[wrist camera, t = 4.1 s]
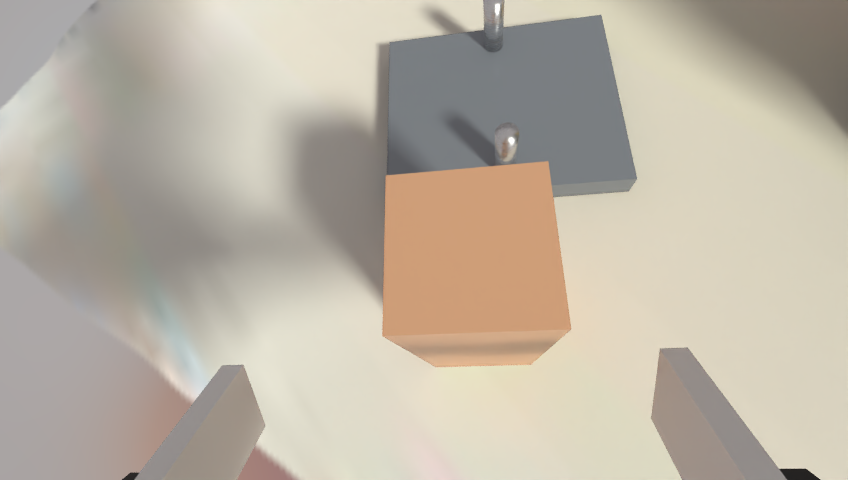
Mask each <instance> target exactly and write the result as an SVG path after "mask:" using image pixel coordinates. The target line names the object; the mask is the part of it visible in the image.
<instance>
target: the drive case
mask: <svg viewBox="0 0 848 480" xmlns="http://www.w3.org/2000/svg"><path fill="white" fill-rule="evenodd" d="M570 330H571V324H570V317H569V309H568V302H567V295H566V287H565V280H564V273H563V265H562V258H561V251H560V243H559V236H558V229H557V221H556V214H555V207H554V199H553V192H552V184H551V177H550V170H549V162H548V161H545V162H533V163H522V164H510V165H499V166H488V167H476V168H465V169H453V170H442V171H431V172H419V173H408V174H396V175H386V187H385V235H384V284H383V333H382V336H383V337H385V338H387V339H388V340H390V341H392V342H394V343H395V344H397V345H399V346H400V347H402V348H404V349H406V350H407V351H409V352H411V353H413V354H414V355H416V356H418V357H419V358H421V359H423V360H425V361H426V362H428V363H430V364H431V365H433V366H435V367H456V366H495V365H531V364H532V363H533V362H535V361H536V360H537V359H538V358H539V357H540V356H541V355H542V354H544V353H545V352H546V351H547V350H548V349H549V348H550V347H552V346H553V345H554V344H555V343H556V342H557V341H558V340H560V339H561V338H562V337H563V336H564V335H565V334H566V333H567V332H569V331H570Z"/></svg>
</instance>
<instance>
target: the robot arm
mask: <svg viewBox="0 0 848 480" xmlns="http://www.w3.org/2000/svg"><path fill="white" fill-rule="evenodd" d="M651 419H652V421H653V423H654V425H655V427H656V429H657V431H658V433H659V435H660V437H661V439H662V441H663V443H664V445H665V447H666V449H667V450H668V452H669V454H670V456H671V458H672V460H673V462H674V464H675V466H676V468H677V470H678V472H679V474H680V476H681V478H682V480H820V479H819V478H817V477H816V476H815V475H814V474H812V473H811V472H810V471H808V470H807V469H779V468H778V467H777V466H776V464H775V463H774V462H773V460H772V459H771V458H770V456H769V455H768V454H767V452H766V451H765V450H764V448H763V447H762V446H761V444H760V443H759V442H758V440H757V439H756V438H755V436H754V435H753V434H752V432H751V431H750V430H749V428H748V427H747V426H746V424H745V423H744V422H743V420H742V419H741V418H740V416H739V415H738V414H737V412H736V411H735V410H734V408H733V407H732V406H731V405H730V403H729V402H728V401H727V399H726V398H725V397H724V395H723V394H722V393H721V391H720V390H719V389H718V387H717V386H716V385H715V383H714V382H713V381H712V379H711V378H710V377H709V375H708V374H707V373H706V371H705V370H704V369H703V367H702V366H701V365H700V363H699V362H698V361H697V359H696V358H695V357H694V355H693V354H692V353H691V351H690V350H689V349H688V348H665V349H660V352H659V360H658V368H657V376H656V384H655V392H654V400H653V408H652V416H651ZM264 427H265V423H264V420H263V417H262V415H261V412H260V409H259V406H258V404H257V401H256V398H255V395H254V393H253V390H252V387H251V384H250V382H249V379H248V376H247V373H246V371H245V368H244V365H225V366H221V368H220V369H219V370H218V372H217V373H216V374H215V376H214V377H213V378H212V379H211V381H210V382H209V383H208V385H207V386H206V387H205V389H204V390H203V391H202V392H201V394H200V395H199V396H198V398H197V399H196V400H195V401H194V403H193V404H192V405H191V407H190V408H189V409H188V411H187V412H186V413H185V415H184V416H183V417H182V418H181V420H180V421H179V422H178V424H177V425H176V426H175V428H174V429H173V430H172V431H171V433H170V434H169V435H168V437H167V438H166V439H165V440H164V442H163V443H162V445H161V446H160V447H159V448H158V450H157V451H156V452H155V454H154V455H153V456H152V457H151V459H150V460H149V461H148V463H147V464H146V465H145V466H144V468H143V469H142V470H141V472H140V473H130V474H128V475H127V476H126V477H125V478H124V479H122V480H237V478H238V476H239V474H240V473H241V471H242V469H243V467H244V465H245V463H246V461H247V459H248V458H249V455H250V454H251V452H252V450H253V448H254V446H255V444H256V442H257V441H258V439H259V437H260V435H261V433H262V431H263V429H264Z"/></svg>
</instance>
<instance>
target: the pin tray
mask: <svg viewBox="0 0 848 480" xmlns="http://www.w3.org/2000/svg"><path fill="white" fill-rule="evenodd" d="M483 4H484V30H482V31H474V32H466V33H459V34H451V35H443V36H435V37H428V38H420V39H412V40H405V41H397V42H390V54H389V106H388V159H387V175H396V174H408V173H419V172H431V171H442V170H453V169H465V168H476V167H488V166H499V165H510V164H522V163H533V162H545V161H548V162H549V170H550V177H551V184H552V192H553V197H560V196H573V195H586V194H599V193H612V192H625V191H629V190H630V189H631V187H632V186H633V184H634V183H635V181H636V179H637V177H636V172H635V167H634V163H633V158H632V154H631V149H630V144H629V140H628V135H627V131H626V126H625V121H624V117H623V112H622V108H621V103H620V98H619V94H618V89H617V85H616V80H615V76H614V71H613V66H612V62H611V57H610V53H609V48H608V43H607V39H606V34H605V30H604V25H603V20H602V16H601V15H597V16H589V17H581V18H574V19H566V20H558V21H551V22H543V23H535V24H528V25H520V26H512V27H505V28H503V24H504V0H483Z"/></svg>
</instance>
